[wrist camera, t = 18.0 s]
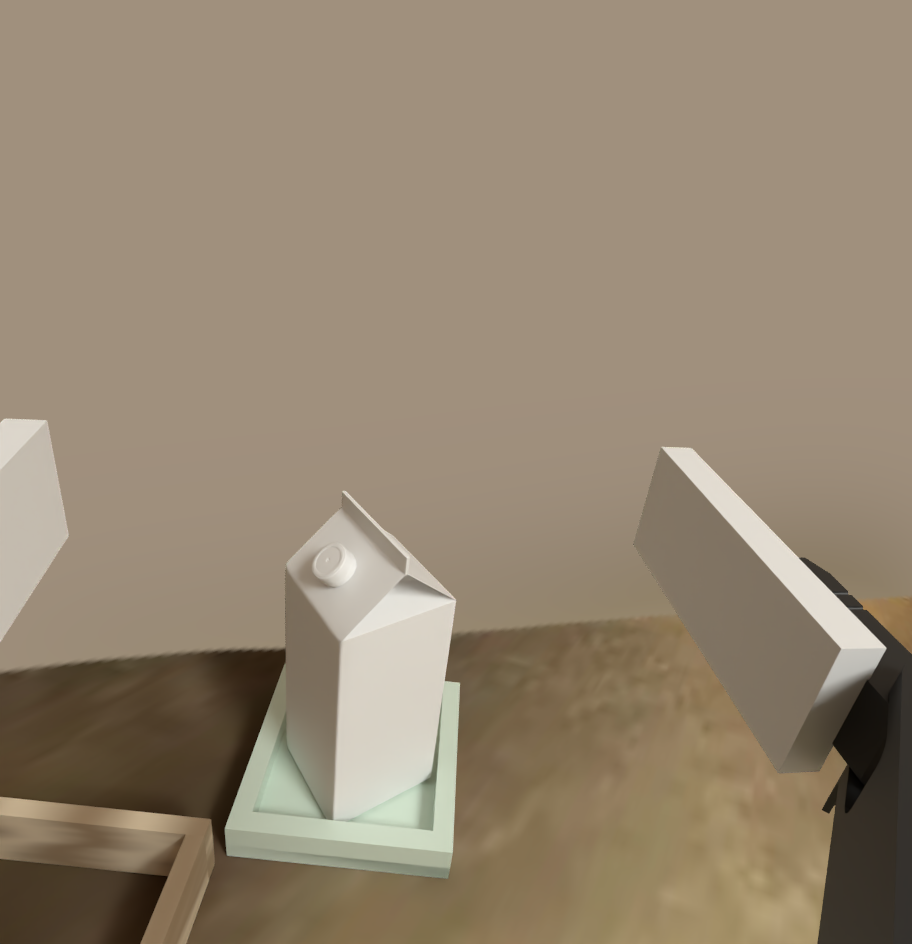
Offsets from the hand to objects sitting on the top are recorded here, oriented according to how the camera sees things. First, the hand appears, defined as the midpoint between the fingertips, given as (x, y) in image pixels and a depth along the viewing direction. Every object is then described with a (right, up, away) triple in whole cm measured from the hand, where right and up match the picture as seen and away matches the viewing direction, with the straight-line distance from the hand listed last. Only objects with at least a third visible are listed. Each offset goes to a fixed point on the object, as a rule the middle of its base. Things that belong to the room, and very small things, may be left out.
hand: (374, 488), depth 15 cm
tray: (-5, -20, +30) cm, 36 cm away
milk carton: (-5, -19, +30) cm, 36 cm away
